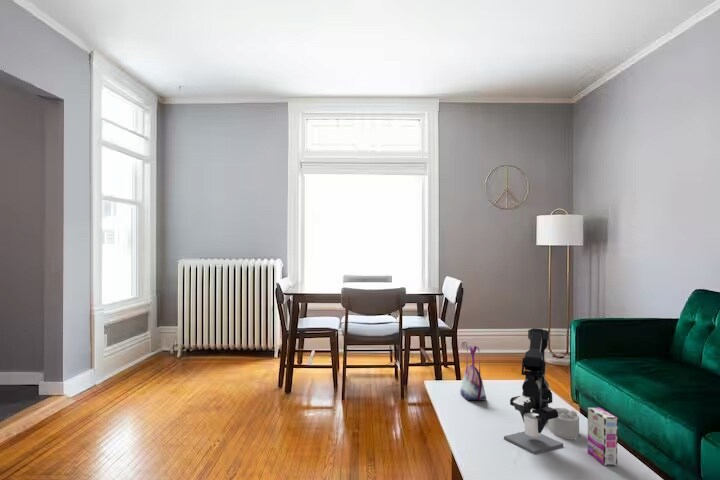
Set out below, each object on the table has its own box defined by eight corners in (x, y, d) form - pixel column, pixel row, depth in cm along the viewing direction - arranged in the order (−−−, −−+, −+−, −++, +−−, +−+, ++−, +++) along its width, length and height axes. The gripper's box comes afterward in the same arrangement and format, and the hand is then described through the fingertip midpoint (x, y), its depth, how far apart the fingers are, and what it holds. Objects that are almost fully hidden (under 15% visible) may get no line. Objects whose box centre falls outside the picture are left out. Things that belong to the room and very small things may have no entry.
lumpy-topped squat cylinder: (570, 426, 200) (570, 405, 200) (585, 439, 187) (585, 417, 187) (545, 426, 200) (545, 405, 200) (558, 439, 187) (558, 416, 187)
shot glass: (543, 438, 180) (544, 419, 180) (524, 436, 181) (524, 417, 181) (540, 431, 186) (541, 412, 186) (522, 429, 188) (522, 411, 188)
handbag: (456, 390, 248) (456, 341, 248) (475, 390, 249) (475, 341, 249) (470, 404, 227) (470, 351, 227) (490, 403, 228) (491, 350, 228)
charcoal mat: (532, 432, 194) (532, 429, 194) (563, 446, 180) (563, 443, 180) (503, 438, 187) (503, 436, 187) (534, 453, 173) (534, 451, 173)
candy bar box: (618, 466, 164) (618, 417, 165) (604, 466, 164) (604, 418, 164) (599, 451, 176) (600, 406, 176) (586, 452, 175) (586, 406, 175)
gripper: (499, 384, 188) (499, 425, 188) (537, 398, 172) (537, 442, 172) (520, 381, 193) (520, 420, 193) (559, 394, 177) (559, 437, 177)
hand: (533, 429), depth 184 cm, fingers closed on shot glass, 6 cm apart
